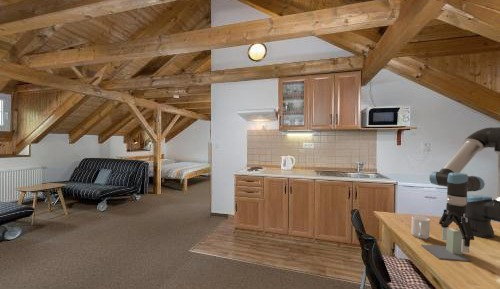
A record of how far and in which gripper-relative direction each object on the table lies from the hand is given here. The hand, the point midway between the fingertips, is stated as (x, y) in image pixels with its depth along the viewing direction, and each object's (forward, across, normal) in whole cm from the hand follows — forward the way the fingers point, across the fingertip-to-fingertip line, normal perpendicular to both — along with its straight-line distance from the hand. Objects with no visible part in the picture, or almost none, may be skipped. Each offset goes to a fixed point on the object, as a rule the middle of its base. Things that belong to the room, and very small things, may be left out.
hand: (454, 245), depth 117 cm
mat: (+4, +1, -5) cm, 6 cm away
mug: (+4, -18, -6) cm, 19 cm away
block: (+3, 0, 0) cm, 3 cm away
